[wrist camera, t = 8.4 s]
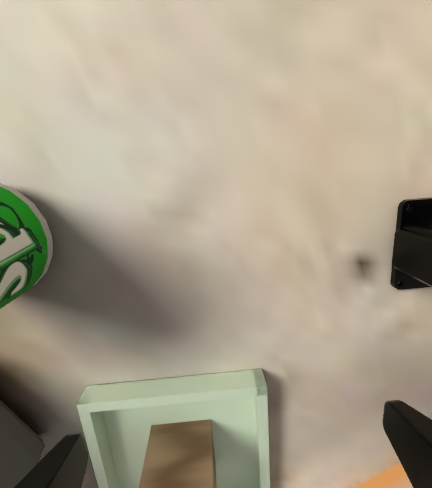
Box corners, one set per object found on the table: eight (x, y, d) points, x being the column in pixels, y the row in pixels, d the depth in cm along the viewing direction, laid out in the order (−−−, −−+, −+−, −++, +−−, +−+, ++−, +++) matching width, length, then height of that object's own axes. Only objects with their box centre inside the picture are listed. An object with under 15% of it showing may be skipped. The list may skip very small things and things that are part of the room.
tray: (261, 368, 22) (267, 386, 20) (266, 493, 26) (271, 516, 24) (86, 385, 22) (76, 404, 20) (117, 509, 25) (110, 534, 24)
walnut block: (211, 419, 23) (213, 503, 17) (215, 463, 24) (219, 555, 18) (151, 425, 23) (133, 512, 17) (159, 469, 24) (145, 564, 18)
